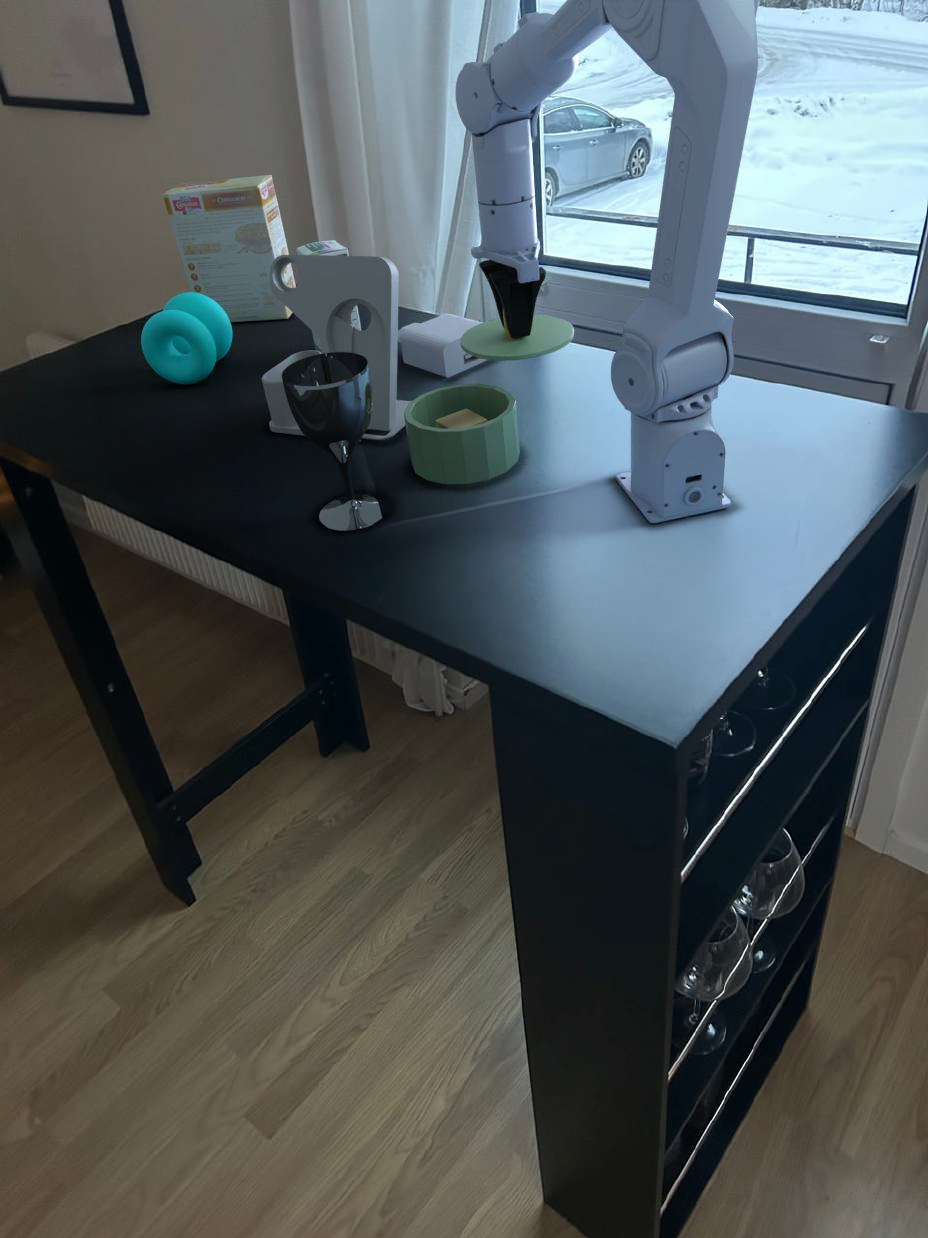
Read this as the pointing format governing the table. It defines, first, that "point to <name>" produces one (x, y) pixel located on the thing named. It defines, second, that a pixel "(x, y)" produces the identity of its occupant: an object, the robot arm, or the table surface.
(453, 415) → the block
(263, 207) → the coffeecake box
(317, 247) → the syrup box
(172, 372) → the turquoise yo-yo
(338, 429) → the wine glass
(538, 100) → the robot arm
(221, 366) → the table surface
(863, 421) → the table surface
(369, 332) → the phone holder
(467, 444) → the tin
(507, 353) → the lid
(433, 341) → the charger
